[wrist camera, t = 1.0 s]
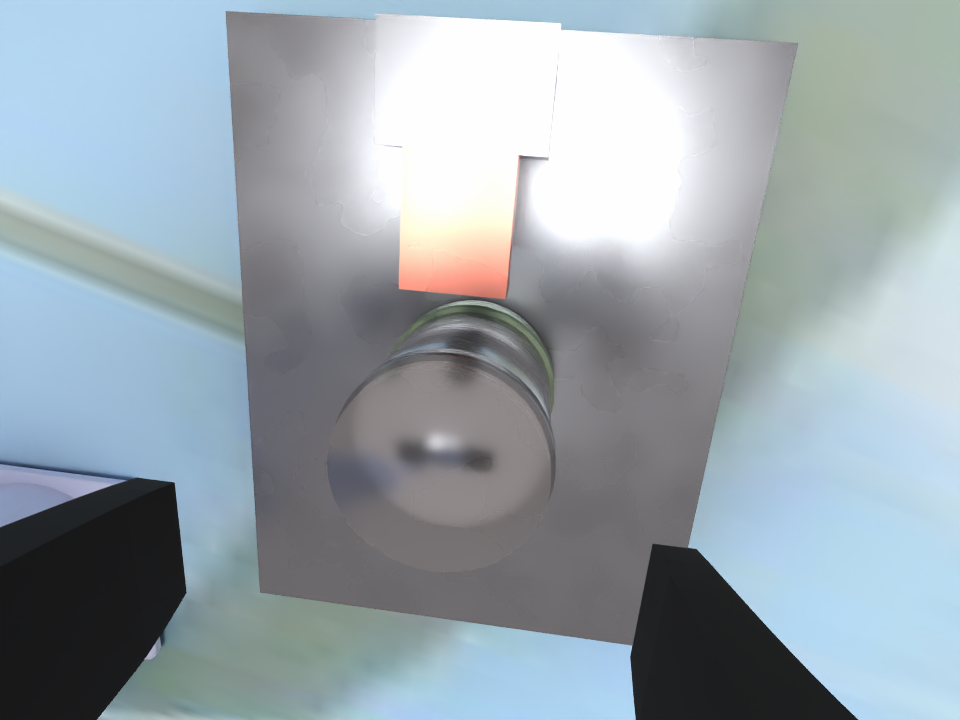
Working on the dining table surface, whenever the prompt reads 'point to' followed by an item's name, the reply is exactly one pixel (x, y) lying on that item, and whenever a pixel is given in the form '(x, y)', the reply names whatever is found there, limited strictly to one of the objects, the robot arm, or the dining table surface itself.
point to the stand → (497, 275)
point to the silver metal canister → (449, 441)
